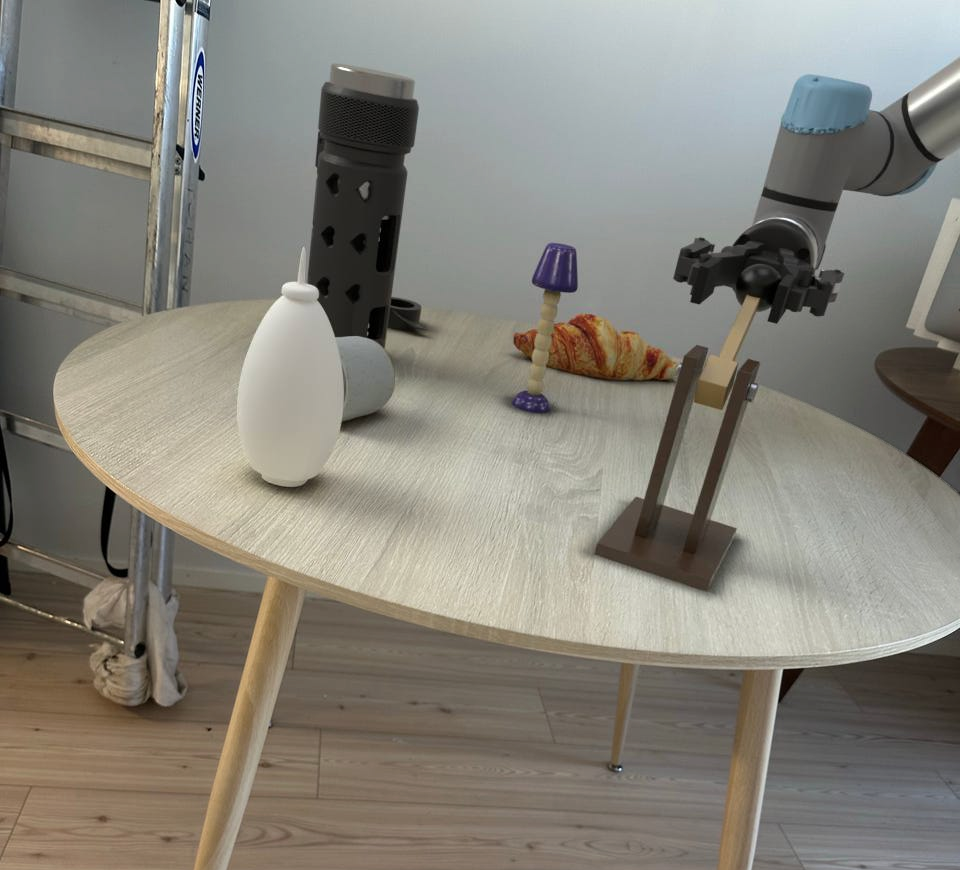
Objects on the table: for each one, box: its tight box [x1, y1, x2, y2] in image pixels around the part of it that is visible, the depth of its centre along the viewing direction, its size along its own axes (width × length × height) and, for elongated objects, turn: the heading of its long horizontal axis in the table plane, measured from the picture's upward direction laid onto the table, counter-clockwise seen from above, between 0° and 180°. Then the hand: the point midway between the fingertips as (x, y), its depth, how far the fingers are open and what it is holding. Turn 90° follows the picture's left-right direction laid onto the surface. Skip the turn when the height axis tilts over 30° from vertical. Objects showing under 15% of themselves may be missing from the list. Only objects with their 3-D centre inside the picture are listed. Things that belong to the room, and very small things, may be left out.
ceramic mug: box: [335, 336, 396, 423], centre depth 95 cm, size 11×8×8 cm
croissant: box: [512, 312, 679, 381], centre depth 125 cm, size 21×10×8 cm, turn 97°
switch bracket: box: [593, 344, 761, 593], centre depth 79 cm, size 12×9×16 cm
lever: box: [693, 264, 782, 411], centre depth 78 cm, size 14×4×4 cm
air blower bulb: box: [236, 246, 344, 488], centre depth 76 cm, size 8×8×18 cm
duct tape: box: [387, 296, 429, 332], centre depth 127 cm, size 8×10×3 cm
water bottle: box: [306, 63, 420, 350], centre depth 105 cm, size 10×28×10 cm
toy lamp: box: [511, 242, 579, 414], centre depth 104 cm, size 5×5×17 cm
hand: (738, 294), depth 77 cm, fingers open, 5 cm apart
